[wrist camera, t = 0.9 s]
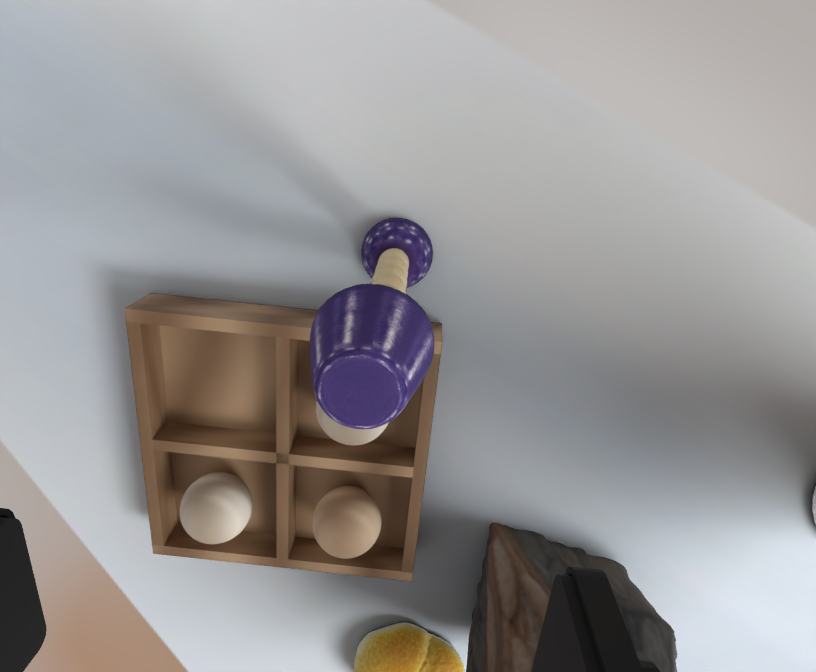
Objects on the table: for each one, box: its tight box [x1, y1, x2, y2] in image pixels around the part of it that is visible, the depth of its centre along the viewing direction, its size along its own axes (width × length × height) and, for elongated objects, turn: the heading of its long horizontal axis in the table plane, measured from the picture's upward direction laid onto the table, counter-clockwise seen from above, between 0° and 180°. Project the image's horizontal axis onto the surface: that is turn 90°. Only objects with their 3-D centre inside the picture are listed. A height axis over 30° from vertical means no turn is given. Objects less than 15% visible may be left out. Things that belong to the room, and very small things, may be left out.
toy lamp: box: [310, 218, 434, 429], centre depth 24 cm, size 5×5×17 cm
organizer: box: [125, 293, 442, 581], centre depth 35 cm, size 18×18×3 cm
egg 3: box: [312, 486, 382, 559], centre depth 35 cm, size 5×5×5 cm
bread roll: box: [354, 622, 465, 672], centre depth 43 cm, size 8×9×4 cm
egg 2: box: [316, 401, 389, 445], centre depth 32 cm, size 5×5×5 cm
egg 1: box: [180, 472, 253, 544], centre depth 35 cm, size 5×5×5 cm
